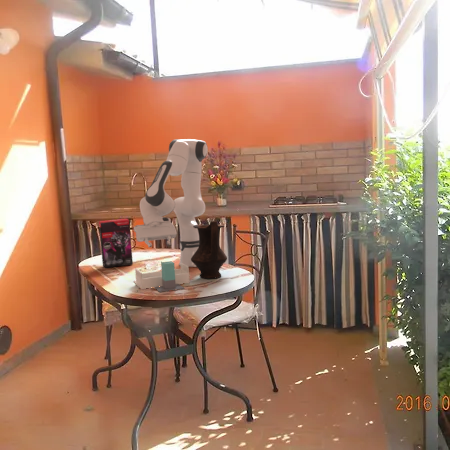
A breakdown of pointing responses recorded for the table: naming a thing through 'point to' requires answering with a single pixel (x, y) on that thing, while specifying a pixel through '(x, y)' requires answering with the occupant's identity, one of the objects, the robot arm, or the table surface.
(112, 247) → the graphics card box
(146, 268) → the table surface
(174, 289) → the slate mat
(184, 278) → the carton
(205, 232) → the jug
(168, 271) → the teal box
